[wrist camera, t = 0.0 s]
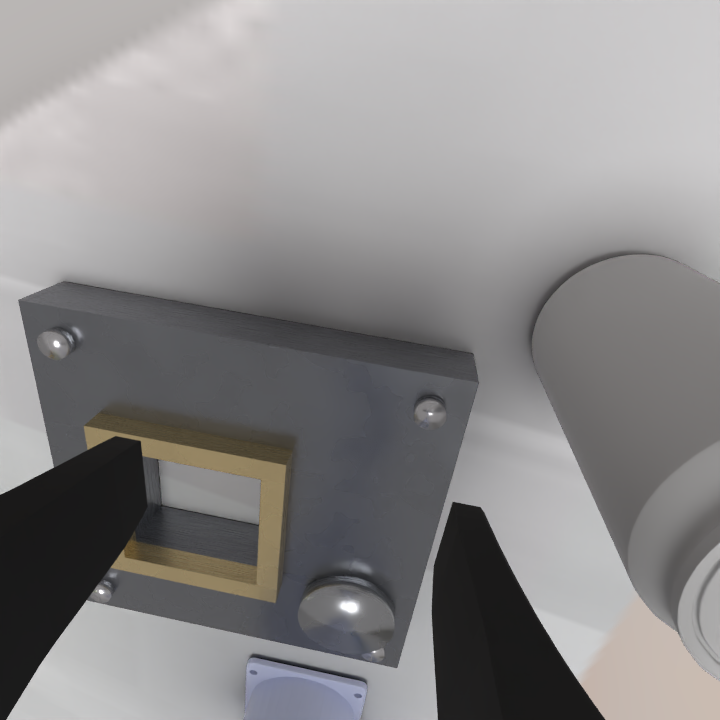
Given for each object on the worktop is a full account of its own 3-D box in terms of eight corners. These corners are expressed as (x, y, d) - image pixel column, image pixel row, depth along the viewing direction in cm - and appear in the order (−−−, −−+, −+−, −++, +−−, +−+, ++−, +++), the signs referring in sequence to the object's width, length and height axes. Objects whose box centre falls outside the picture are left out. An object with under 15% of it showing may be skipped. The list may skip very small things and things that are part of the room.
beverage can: (498, 366, 19) (581, 652, 9) (587, 219, 17) (872, 383, 6) (635, 423, 20) (876, 765, 9) (746, 288, 17) (1293, 562, 6)
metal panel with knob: (399, 624, 28) (395, 687, 24) (109, 562, 29) (70, 615, 26) (473, 353, 19) (481, 396, 16) (62, 281, 20) (-4, 308, 17)
